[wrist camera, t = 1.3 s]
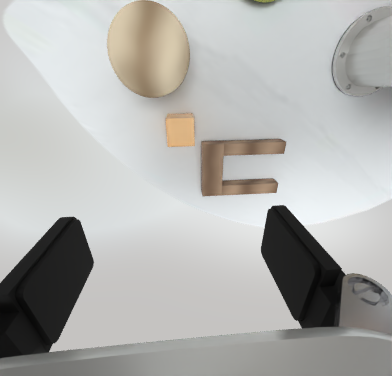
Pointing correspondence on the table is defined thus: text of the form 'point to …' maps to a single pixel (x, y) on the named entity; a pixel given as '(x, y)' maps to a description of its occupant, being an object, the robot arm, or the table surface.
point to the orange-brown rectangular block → (180, 130)
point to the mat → (264, 0)
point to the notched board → (218, 149)
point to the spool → (148, 49)
